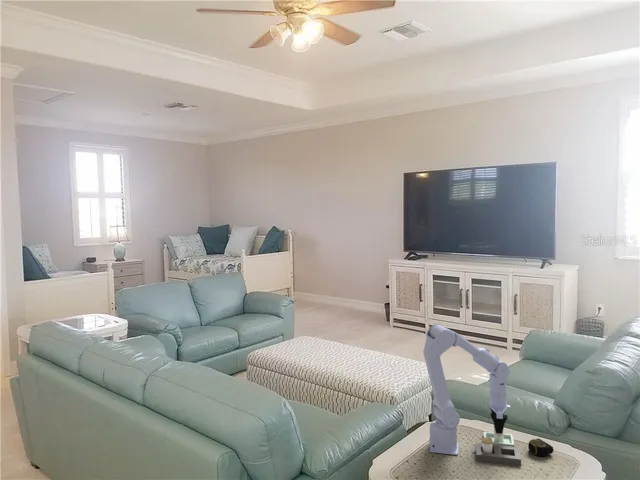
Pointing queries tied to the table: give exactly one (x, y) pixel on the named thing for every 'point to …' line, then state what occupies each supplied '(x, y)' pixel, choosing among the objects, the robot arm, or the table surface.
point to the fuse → (487, 445)
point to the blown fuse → (498, 436)
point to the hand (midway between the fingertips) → (498, 429)
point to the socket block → (499, 455)
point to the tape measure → (540, 447)
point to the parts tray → (507, 442)
